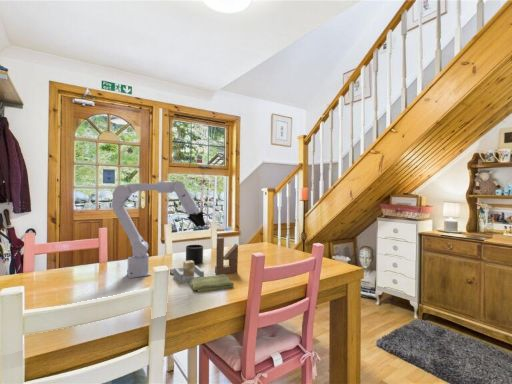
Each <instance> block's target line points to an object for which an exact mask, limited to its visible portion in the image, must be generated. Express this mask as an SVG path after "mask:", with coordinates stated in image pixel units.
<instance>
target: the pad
mask: <svg viewBox="0 0 512 384" xmlns="http://www.w3.org/2000/svg"><path fill="white" fill-rule="evenodd" d="M176 268H177V269H178V270H179V271H180V272H183V267H176ZM169 274H170V275H171V276H174V268H170V273H169Z"/></svg>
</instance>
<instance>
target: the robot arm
mask: <svg viewBox="0 0 512 384" xmlns="http://www.w3.org/2000/svg"><path fill="white" fill-rule="evenodd" d="M139 191H142V192H143V191H156V192H157V193H158V194H167V193H168V194H170V193H171V194H172V193H173V192H174V193H175V194H176V196H177V198H178V200H179V202H180V204H181V205H182V207H183V208H184V211H185V213H186V215H188V216H187V217H186V218H187V219H188V220H189V221H191V222H192V223H193V225H194V226H195V227H196V228H199V227H201V228H203V227H205V226H206V222H205V219H204V212H203V211H202V210H201V211H200V206H197V205H196V203H195V202H194V199H193V198H192V196H191V195H190V192H189V191H188V190H187V188H186V185H185V183H184V182H183V181H180V180H176V181H175V180H174V179H173V180H168V181H167V180H164V179H160V180H158V181H157V182H156V183H129V184H128V183H127V184H120V185H117V186H116V187H115V188H114V190H113V192H112V200H111V201H112V203H111V209H112V210H113V212H114V214H115V216H116V217H117V220H118V221H119V223H120V226H121V227H122V229H123V230H124V232H125V234H126V236H127V237H128V239H129V242H130V246H131V248H132V251H131V252H132V256H129V257H127V269H126V273H127V276H128V278H129V279H132V278H138V277H146V276H147V277H149V276H151V273H150V271H149V265H150V264H149V263H150V262H149V259H150V257H149V256H150V255H149V253H148V251H149V249H150V245H149V243H148V241H146V240H144V237H143V236H142V235H140V233H139V230H138V228H137V227H136V225H135V223H134V221H133V220H132V217H131V216H130V215H129V213H128V210H127V209H126V206H125V205H126V203H127V200H129V198H130V197H131V196H132V194H134V193H137V192H139Z"/></svg>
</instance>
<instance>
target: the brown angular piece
mask: <svg viewBox="0 0 512 384" xmlns="http://www.w3.org/2000/svg"><path fill="white" fill-rule="evenodd" d="M238 258H239V245H238V244H237V243H234V245H233V246H231V248H230V249H229V250H228V251H227V253H225V237H223V236H219V237H217V238H216V259H215V260H216V262H215V264H216V265H215V267H214V273H215V274H216V275H220V274H225V275H230V274H231V275H232V274H237V273H238V266H239V265H238V264H239V263H238ZM224 261H228V265H226V264H225V265H224V263H225V262H224Z"/></svg>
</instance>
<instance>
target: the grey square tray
mask: <svg viewBox="0 0 512 384" xmlns="http://www.w3.org/2000/svg"><path fill="white" fill-rule="evenodd" d="M177 268H178V267H175V268H173V269H174V275H173V277H174V279H175V280H176V281H177V282H178V283H179V284H186V283H190V280H192V279H194V278H200V277H205V271H204V270H203V269H201V268H200V267H199V266H198V265H197V264H194V275H191V276H185V275H184V274H183V272H180V271H179V270H178V269H177Z"/></svg>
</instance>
